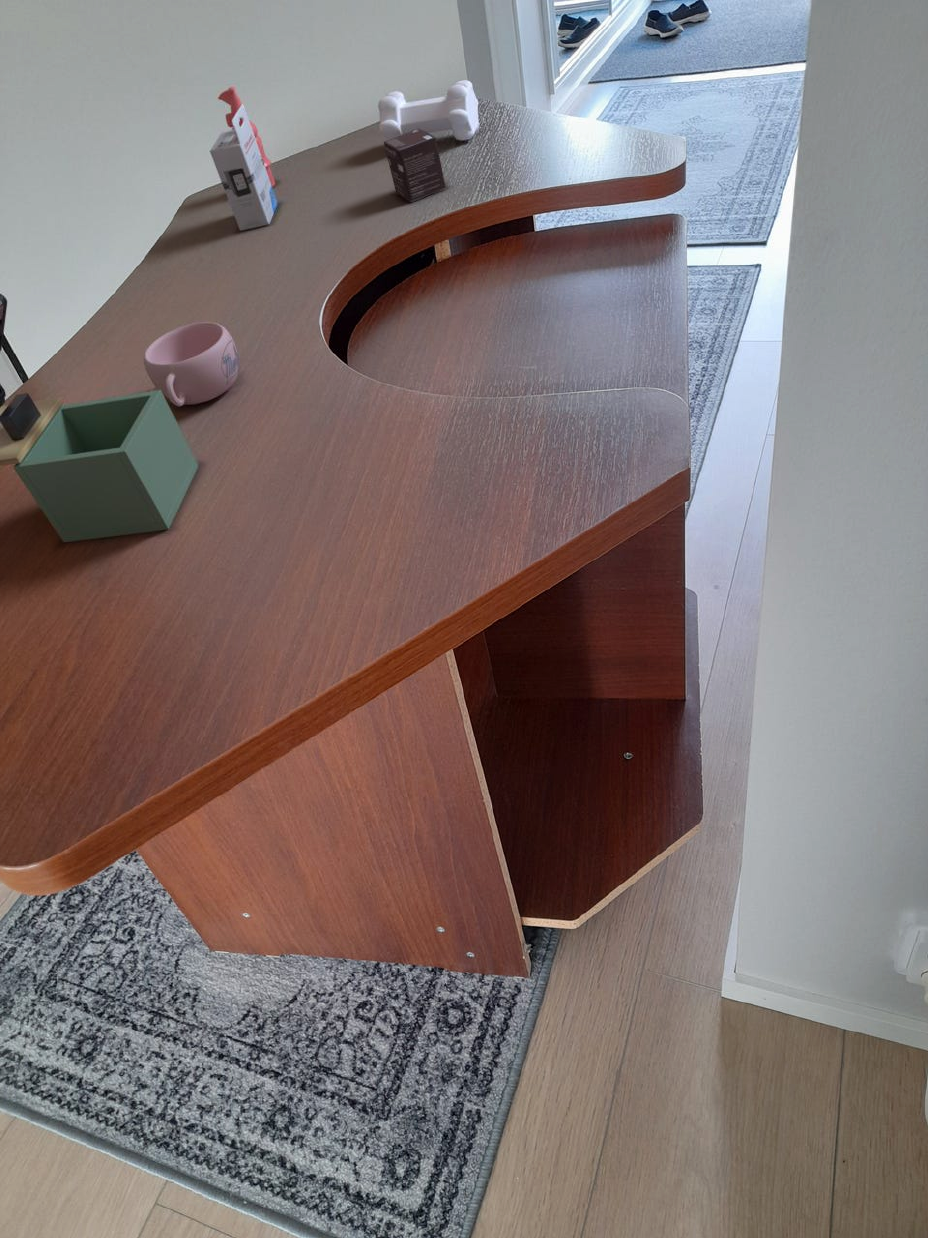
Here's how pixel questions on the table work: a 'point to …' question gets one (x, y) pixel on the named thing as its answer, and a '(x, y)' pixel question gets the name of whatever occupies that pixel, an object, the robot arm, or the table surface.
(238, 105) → the figurine
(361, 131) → the table surface
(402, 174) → the box
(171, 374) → the mug
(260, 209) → the ink box
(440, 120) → the dog bone
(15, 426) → the slide door
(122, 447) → the case
